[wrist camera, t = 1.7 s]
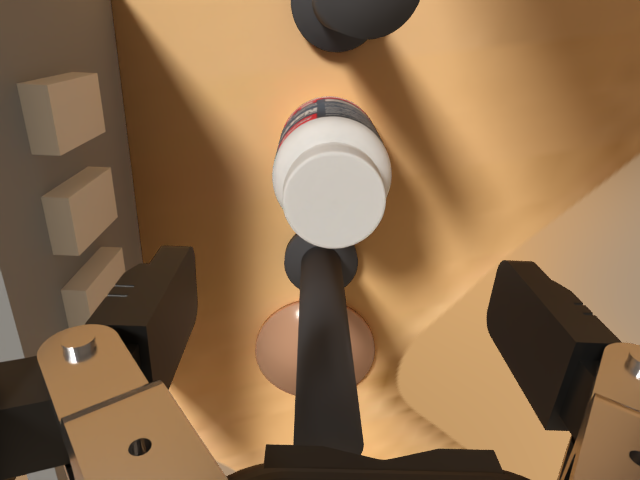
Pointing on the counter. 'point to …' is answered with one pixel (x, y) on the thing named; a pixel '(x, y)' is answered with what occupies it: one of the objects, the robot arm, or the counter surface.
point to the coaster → (282, 344)
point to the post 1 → (349, 20)
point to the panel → (60, 172)
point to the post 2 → (324, 347)
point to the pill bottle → (331, 173)
